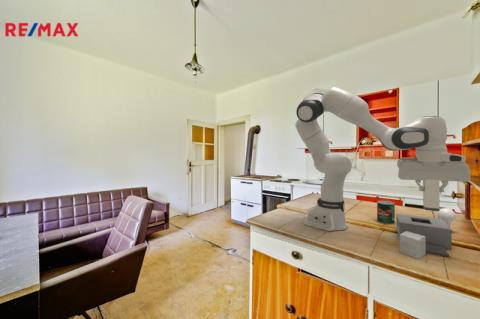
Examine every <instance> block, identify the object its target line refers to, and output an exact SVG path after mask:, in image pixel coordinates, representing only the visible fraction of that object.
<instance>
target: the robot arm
mask: <svg viewBox="0 0 480 319" xmlns="http://www.w3.org/2000/svg"><path fill="white" fill-rule="evenodd" d="M369 109H370V108H369V104H368V103H367V102H366V101H365V100H364V99H362V97H360V96H358V95H356V94H355V93H352V92H351V91H348V90H346V89H343V88H340V87H337V86H332V87H330V88H328V89H327V90H326V91H325V92H324V93H322V92H314V93H312V94H310V95H309V96H307V97H305V99H303V100H302V101H301V102H300V103H299V104H298V106H297V107H296V111H295V112H296V116H297V120H296V122H295V128H296V131H297V133H298V135H299V137H300V139H301V140H302V142H303V143H304V145H305V146H306V148H307V149H308V151H309V153H310V155H311V158H312V160H313V166H314V168H315V169H316V170H317V171H318V172H320V173H322V174H324V178H323V181H322V183H320V197H318V198H317V200H316V203H317V205H315V206H314V207H312V208H311V209H309V211H308V212H307V215H306V217H305V218H304V219H303V220H302V224H303V225H304V226H309V227H313V228H316V229H320V230H323V231H327V232H334V231H344V230H346V229H347V228H348V225H347V221H346V217H345V215H346V214H345V210H346V208H345V205H346V203H345V199H344V185H345V180H346V177H347V176H348V174H349V173H350V172H351V171H352V168H353V163H352V161H351V159H350V158H348V156H345V155H342V154H333V153H332V151H331V148H330V145H329V144H330V140H329V139H328V137H327V135H326V134H325V132H324V131H323V129H322V128H321V126H320V125H319V122H318V118H319V117H320V116H321V115H323V114H324V113H325V112H326V113H328V112H329V113H331V114H333V115H335V116H336V117H338V118H340V119H341V120H343V121H345V122H348V123H350V124H352V125H355V126H357V127H359V128H361V129H363V130H364V131H366V132H367V133H369V135H370V134H371V135H373V136H374V137H376V138H377V140H379V142H380V144H381V145H382V147H384V148H385V149H387V150H388V151H395V152H396V151H406V150H411V149H415V157H414V156H413V157H401V158H399V159H398V160H397V162H396V164H397V165H396V166H397V167H398V172H397V174H398V175H397V178H399V179H400V180H407V181H408V180H409V181H414V182H415V183H416V185H417V186H418V190H419V191H420V192H423V191H425V190H424V189H425V187H424V186H423V185H421V183H422V181H423V180H425V179H428V180H439V182H441V183H442V184H441V185H440V186H439V193H445V188H446V187H447V186H448V185H449V182H463V183H464V182H466V183H467V182H469V181H470V180H471V171H470V167H469V164H468V163H466V160H467V158H466V156H465V155H462V154H461V155H460V154H456V153H452V152H448V148H447V145H446V144H447V143H446V142H447V139H448V130H447V129H448V128H447V124H446V120H445V119H444V118H443V117H441V116H437V115H424V116H419V117H418V118H417V119H414V120H413V121H412V122H409V123H408V124H405V125H403V126H399V127H395V128H394V127H390V126H388V125H386V124H385V123H383V122H381V121H379V119H376V118H375V117H373V115H372V114H371V113H370V112H371V111H370V110H369Z"/></svg>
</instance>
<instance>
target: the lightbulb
mask: <svg viewBox="0 0 480 319" xmlns="http://www.w3.org/2000/svg"><path fill="white" fill-rule="evenodd" d="M456 217H457V215H456V213H455V211H454V210H452V209H451V208H448V207H447V208H446V207H442V208H440V211H436V218H440V219H442V220H443V221H444V222H445V223H446V224H447V225H448V226H449V227H450V228H451V226H452V223H453V222H454V221H455V219H456Z"/></svg>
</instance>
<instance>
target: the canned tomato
mask: <svg viewBox="0 0 480 319" xmlns="http://www.w3.org/2000/svg"><path fill="white" fill-rule="evenodd" d="M395 204H396V203H395V202H393V201H391V200H377V201H376V212H377V213H376V217H377V218H376V219H377V220H376V221H377V222H378V223H379V224H383V223H384V224H383V225H395V224H396V213H395V212H396V210H395V209H396V207H395V206H396V205H395Z"/></svg>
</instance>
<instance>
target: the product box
mask: <svg viewBox="0 0 480 319" xmlns="http://www.w3.org/2000/svg"><path fill="white" fill-rule="evenodd" d="M399 252H400V253H401V254H404V255H407V256H410V257H412V258H414V259H417V260H420V259H422V257H424V256H425V255H426V254H427V253H426V248H425V236H423V235H419V234H416V233H412V232H408V231H405V232H404V233H402V234H400V240H399Z"/></svg>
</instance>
